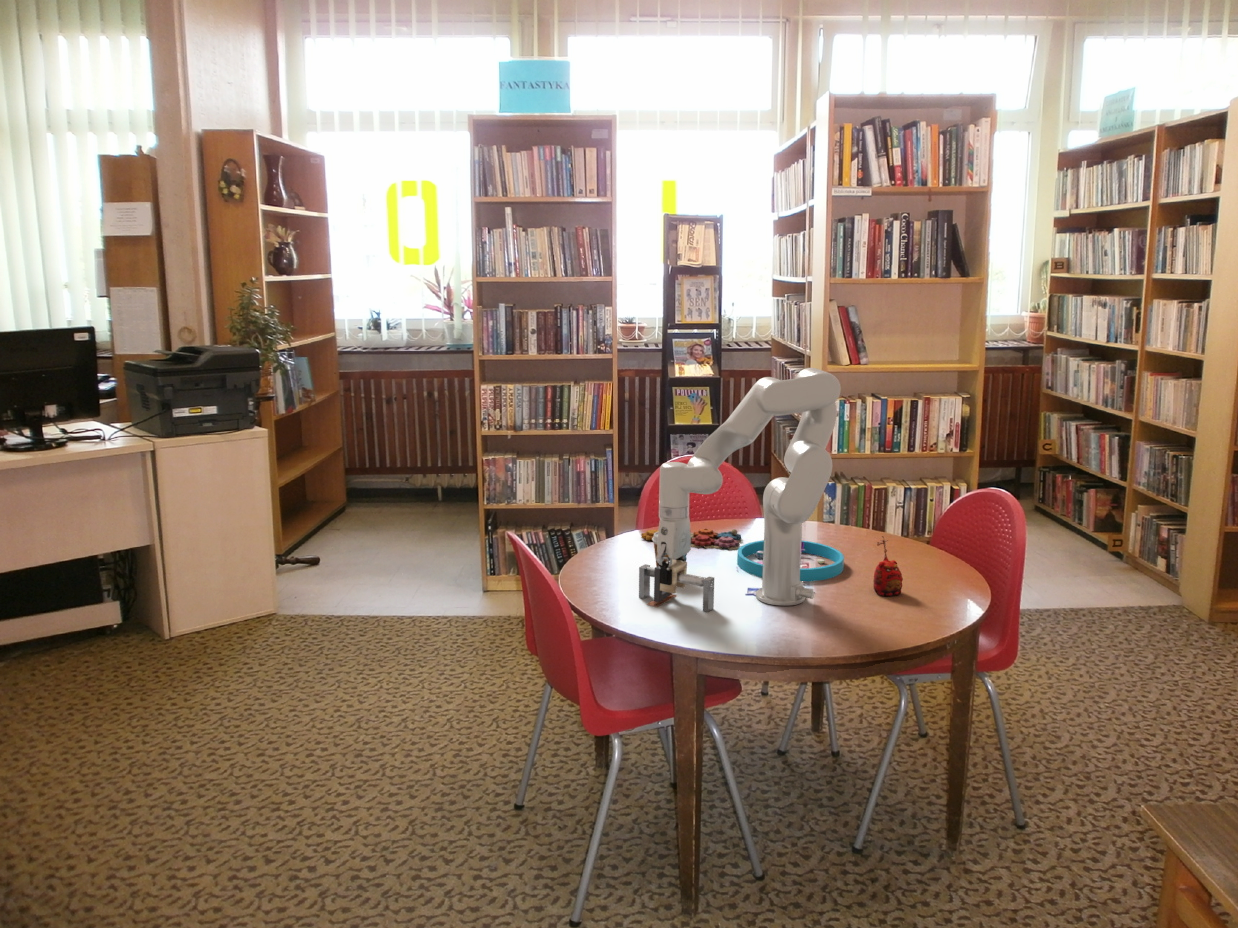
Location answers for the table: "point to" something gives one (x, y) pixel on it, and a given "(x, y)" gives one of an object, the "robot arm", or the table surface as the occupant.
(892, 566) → the red clay folk toy
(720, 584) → the table surface
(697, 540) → the gear puzzle
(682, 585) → the sleeve
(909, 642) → the table surface
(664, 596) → the dark grey u-shaped piece
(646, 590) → the grey long flanged piece
